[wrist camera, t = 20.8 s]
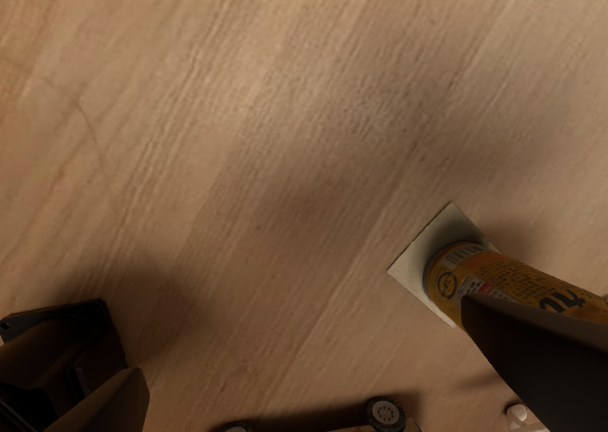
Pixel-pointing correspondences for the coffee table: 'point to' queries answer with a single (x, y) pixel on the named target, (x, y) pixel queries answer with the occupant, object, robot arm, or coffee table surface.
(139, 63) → the coffee table surface
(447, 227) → the condiment
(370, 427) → the toy vehicle
